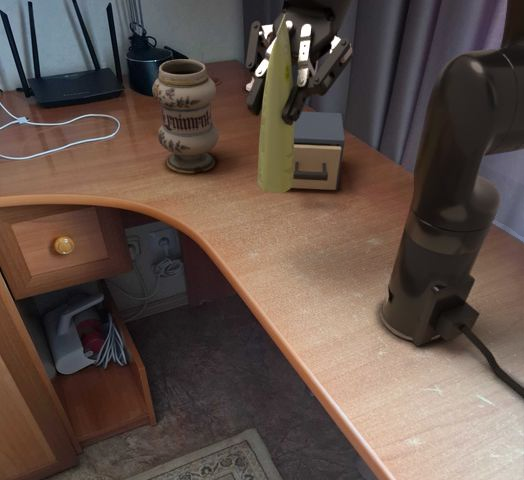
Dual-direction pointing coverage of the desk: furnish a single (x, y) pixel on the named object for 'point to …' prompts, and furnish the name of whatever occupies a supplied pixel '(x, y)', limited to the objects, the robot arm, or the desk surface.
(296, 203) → the desk surface
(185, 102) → the apothecary jar
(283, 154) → the tube
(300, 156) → the drawer
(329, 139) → the mini filing cabinet
